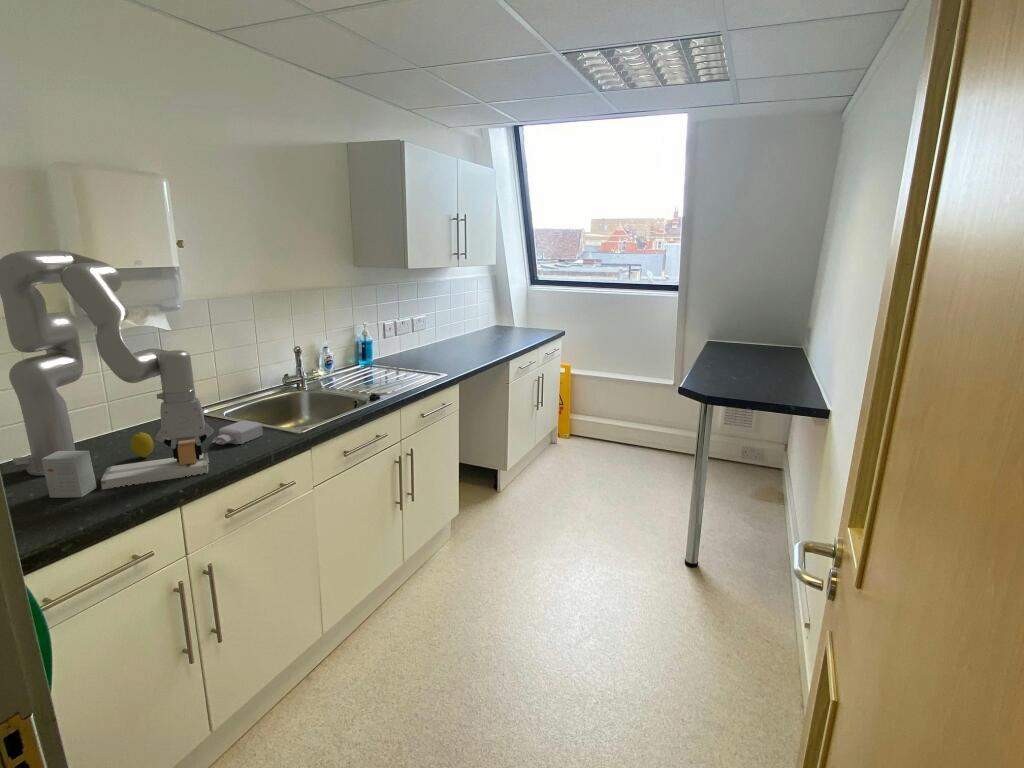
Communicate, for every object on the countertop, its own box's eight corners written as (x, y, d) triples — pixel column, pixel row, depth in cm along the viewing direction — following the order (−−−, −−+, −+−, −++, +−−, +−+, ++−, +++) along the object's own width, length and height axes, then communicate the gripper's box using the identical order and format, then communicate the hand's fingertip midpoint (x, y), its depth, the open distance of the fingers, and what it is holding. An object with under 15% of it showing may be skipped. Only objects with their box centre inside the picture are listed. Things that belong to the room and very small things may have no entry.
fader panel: (102, 489, 142) (100, 480, 142) (109, 475, 151) (107, 466, 150) (207, 473, 153) (206, 464, 152) (208, 460, 162) (207, 452, 161)
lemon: (151, 452, 167) (147, 427, 165) (158, 457, 164) (154, 431, 162) (130, 458, 163) (125, 432, 161) (136, 462, 160) (132, 436, 158)
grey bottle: (203, 448, 172) (241, 433, 186) (226, 452, 169) (263, 436, 183) (201, 433, 171) (240, 419, 185) (224, 437, 168) (261, 423, 182)
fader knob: (180, 469, 151) (177, 448, 150) (181, 461, 157) (178, 441, 155) (197, 466, 153) (194, 445, 152) (197, 459, 158) (195, 439, 157)
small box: (97, 488, 143) (90, 450, 140) (81, 498, 138) (74, 458, 135) (65, 488, 143) (57, 450, 140) (48, 498, 137) (40, 458, 135)
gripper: (141, 403, 143) (151, 469, 148) (214, 396, 150) (222, 459, 155) (144, 396, 149) (154, 459, 154) (214, 389, 157) (222, 450, 161)
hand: (188, 458), depth 154 cm, fingers closed on fader knob, 4 cm apart
